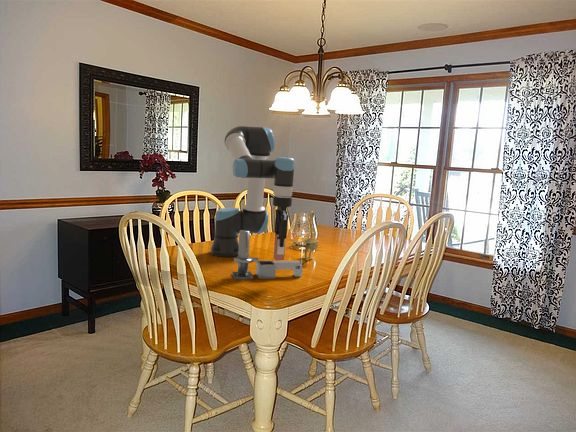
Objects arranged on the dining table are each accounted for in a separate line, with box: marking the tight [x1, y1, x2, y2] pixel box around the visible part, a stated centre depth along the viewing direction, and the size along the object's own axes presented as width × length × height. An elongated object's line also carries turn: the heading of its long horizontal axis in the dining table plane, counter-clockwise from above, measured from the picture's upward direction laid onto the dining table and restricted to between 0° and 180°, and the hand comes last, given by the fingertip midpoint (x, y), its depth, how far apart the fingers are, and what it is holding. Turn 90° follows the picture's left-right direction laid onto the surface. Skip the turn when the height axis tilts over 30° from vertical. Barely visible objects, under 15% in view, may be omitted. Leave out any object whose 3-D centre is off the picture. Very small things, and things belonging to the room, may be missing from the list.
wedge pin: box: [273, 233, 286, 261], centre depth 184 cm, size 4×4×10 cm
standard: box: [231, 230, 260, 281], centre depth 192 cm, size 8×10×20 cm
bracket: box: [255, 260, 303, 280], centre depth 197 cm, size 7×20×6 cm, turn 104°
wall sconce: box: [298, 210, 319, 262], centre depth 226 cm, size 14×10×25 cm
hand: (279, 252), depth 185 cm, fingers closed on wedge pin, 4 cm apart
